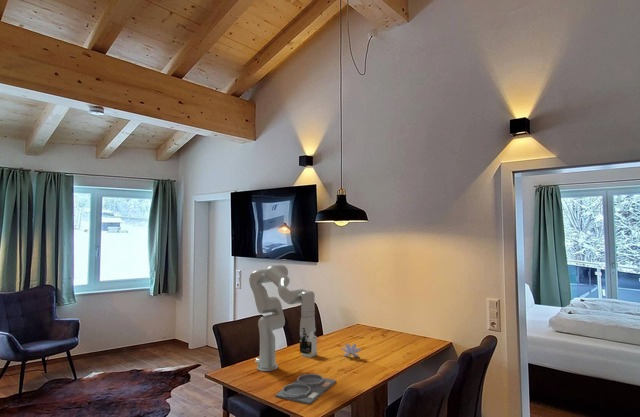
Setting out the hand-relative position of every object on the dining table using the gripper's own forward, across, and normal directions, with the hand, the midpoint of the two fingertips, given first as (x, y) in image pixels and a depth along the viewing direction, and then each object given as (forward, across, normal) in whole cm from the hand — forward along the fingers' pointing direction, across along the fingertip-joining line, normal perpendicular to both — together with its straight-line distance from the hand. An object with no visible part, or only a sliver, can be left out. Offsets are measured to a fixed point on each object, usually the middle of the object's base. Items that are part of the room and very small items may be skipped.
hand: (308, 346), depth 207 cm
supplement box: (+20, -42, -23) cm, 52 cm away
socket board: (+20, +7, +3) cm, 21 cm away
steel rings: (+19, +7, +1) cm, 20 cm away
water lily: (+20, -50, +5) cm, 54 cm away
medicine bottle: (+4, 0, 0) cm, 4 cm away
